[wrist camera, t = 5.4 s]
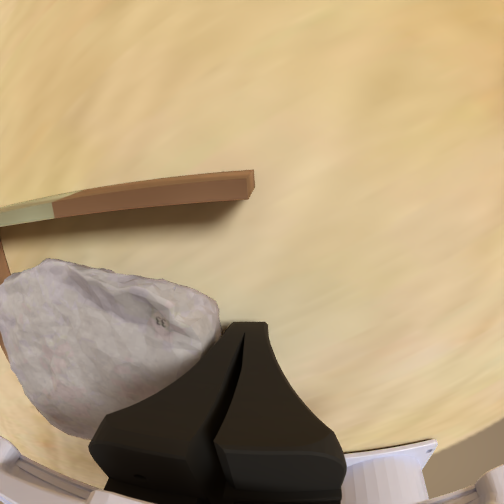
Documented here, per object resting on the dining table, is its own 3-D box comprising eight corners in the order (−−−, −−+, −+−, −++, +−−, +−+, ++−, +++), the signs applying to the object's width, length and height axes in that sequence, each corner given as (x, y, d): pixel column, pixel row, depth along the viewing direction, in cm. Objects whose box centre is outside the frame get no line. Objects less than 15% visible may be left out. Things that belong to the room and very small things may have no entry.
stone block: (33, 252, 15) (72, 398, 17) (-24, 268, 10) (35, 438, 12) (228, 234, 14) (247, 415, 16) (204, 252, 9) (238, 478, 11)
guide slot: (271, 421, 15) (268, 453, 13) (53, 391, 17) (38, 411, 15) (253, 169, 11) (246, 178, 8) (-16, 211, 12) (-43, 223, 10)
